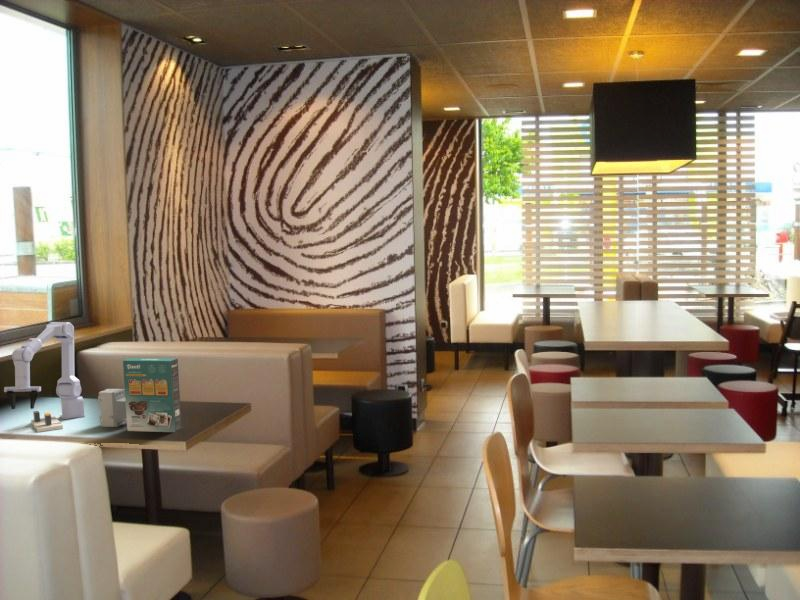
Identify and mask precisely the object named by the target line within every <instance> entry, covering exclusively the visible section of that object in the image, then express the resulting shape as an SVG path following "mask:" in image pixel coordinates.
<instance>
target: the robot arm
mask: <svg viewBox="0 0 800 600" xmlns="http://www.w3.org/2000/svg"><path fill="white" fill-rule="evenodd" d="M52 337H53V338H55V339H57V340H58V341H59V342H60V343H61V377H60V378H58V380H57V385H56V389H55V391H56V393H55V394H56V395H57V396H58V398H59V399H60V402H61V403H60V404H61V415H59V417H60V418H61V420H68V419H74V418H75V419H76V418H83V417H85V416H86V415H85V404H84V398H83V396H81V393H82V386H81V381H80V379H78V377H76V376H75V373H76V372H75V326H74V325H73V324H72V323H71V322H70V321H66V322H65V321H64V322H63V321H62V322H60V321H59V322H57V321H50V322H49V323H48V324H46V326H45V328H44V330H43V331H41V333H39V335H37V337H32V338H31V337H30V338H28V341H26V342H25V343H24V344H22V345H21V347H19V348H18V347H17V348H15V349H14V350H13V351H12V353H11V354H12V355H11V359H12V361H13V365H14V377H15V378H14V380H15V381H14V385H15V386H4V388H3V393H5V395H6V397H7V399H8V401H9V402H10V403H9V404H10V407H11V409H12V410H15V409H16V395H17V393H18V392H29V399H30V407H29V408H30V410H33V409H34V408H35V404H36V400H37V398H38V396H39V394H40V392H41V391H42V386H40V385H39V386H38V385H37V386H36V385H35V386H34V385H33V386H31V370H30V369H31V368H30V367H31V364H30V363H31V361H32V360H33V358H34V355H35V354H37V352H39V351H40V350H41V349H42V347H43V344H44V343H45V342H46V341H49V339H51V338H52Z"/></svg>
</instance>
